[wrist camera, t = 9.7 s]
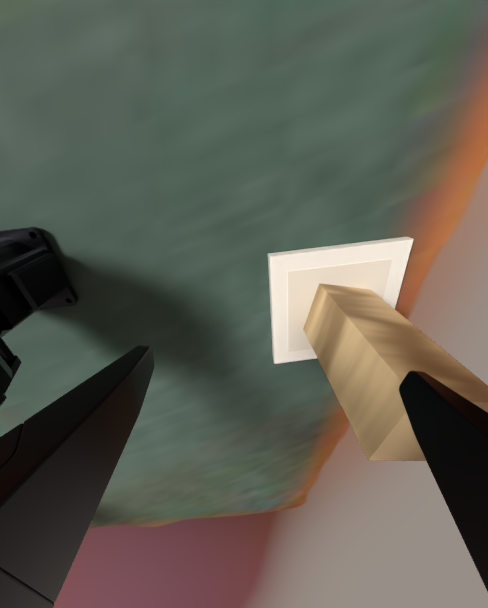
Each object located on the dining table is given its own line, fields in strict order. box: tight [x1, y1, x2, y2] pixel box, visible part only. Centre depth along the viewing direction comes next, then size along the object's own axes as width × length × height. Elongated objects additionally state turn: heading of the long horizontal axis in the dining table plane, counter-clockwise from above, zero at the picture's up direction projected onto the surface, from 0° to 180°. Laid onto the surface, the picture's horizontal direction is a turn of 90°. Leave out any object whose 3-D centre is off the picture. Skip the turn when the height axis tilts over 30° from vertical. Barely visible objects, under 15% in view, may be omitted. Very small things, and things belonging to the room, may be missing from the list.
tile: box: [268, 237, 413, 364], centre depth 23 cm, size 12×12×1 cm
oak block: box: [303, 283, 488, 461], centre depth 17 cm, size 5×5×12 cm
